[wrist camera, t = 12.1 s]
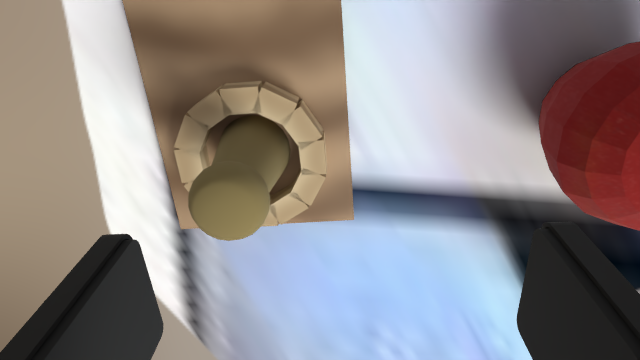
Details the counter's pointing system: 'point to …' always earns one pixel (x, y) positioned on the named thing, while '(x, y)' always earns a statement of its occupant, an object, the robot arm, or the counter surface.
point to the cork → (239, 179)
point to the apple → (597, 135)
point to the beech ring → (271, 106)
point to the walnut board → (247, 78)
